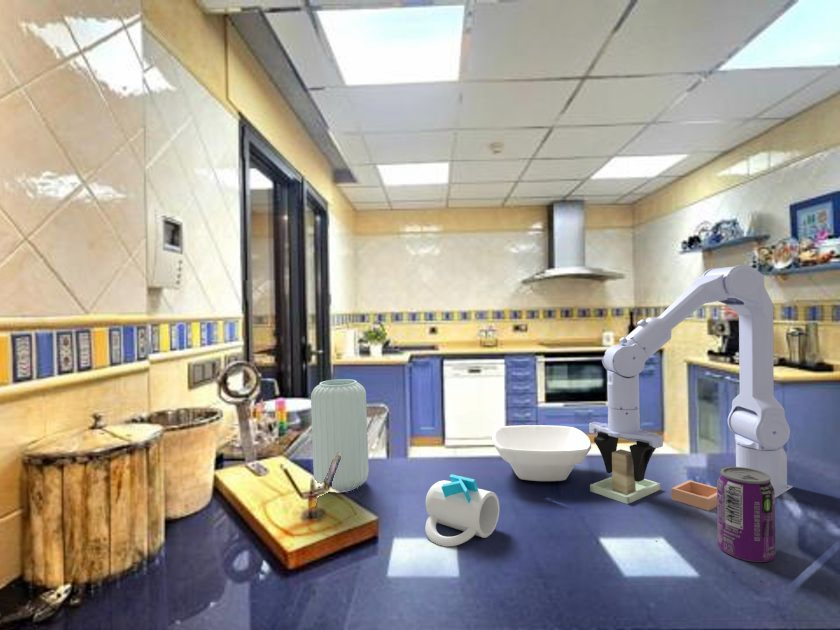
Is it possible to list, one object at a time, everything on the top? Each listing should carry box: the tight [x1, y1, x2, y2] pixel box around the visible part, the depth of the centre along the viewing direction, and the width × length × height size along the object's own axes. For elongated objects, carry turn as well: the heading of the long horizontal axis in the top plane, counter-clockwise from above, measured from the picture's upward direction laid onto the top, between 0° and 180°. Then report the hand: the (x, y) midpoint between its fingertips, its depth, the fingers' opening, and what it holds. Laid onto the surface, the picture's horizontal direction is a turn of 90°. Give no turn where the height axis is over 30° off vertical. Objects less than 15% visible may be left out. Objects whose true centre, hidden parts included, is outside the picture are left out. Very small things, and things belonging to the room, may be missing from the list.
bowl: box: [491, 424, 592, 482], centre depth 107 cm, size 21×21×9 cm
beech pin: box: [611, 448, 636, 495], centre depth 96 cm, size 3×3×8 cm
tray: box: [589, 476, 661, 505], centre depth 96 cm, size 11×8×2 cm
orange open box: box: [670, 479, 717, 512], centre depth 91 cm, size 7×7×3 cm
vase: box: [310, 378, 370, 491], centre depth 104 cm, size 12×12×22 cm
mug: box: [424, 473, 500, 547], centre depth 83 cm, size 12×9×12 cm
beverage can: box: [716, 466, 776, 563], centre depth 72 cm, size 7×7×12 cm
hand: (624, 476), depth 96 cm, fingers open, 5 cm apart
